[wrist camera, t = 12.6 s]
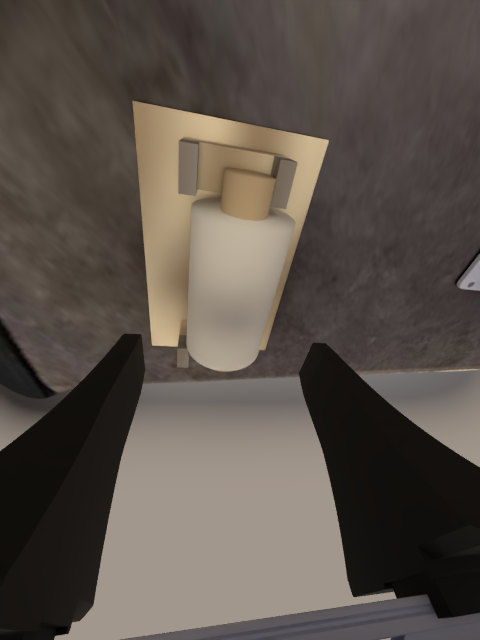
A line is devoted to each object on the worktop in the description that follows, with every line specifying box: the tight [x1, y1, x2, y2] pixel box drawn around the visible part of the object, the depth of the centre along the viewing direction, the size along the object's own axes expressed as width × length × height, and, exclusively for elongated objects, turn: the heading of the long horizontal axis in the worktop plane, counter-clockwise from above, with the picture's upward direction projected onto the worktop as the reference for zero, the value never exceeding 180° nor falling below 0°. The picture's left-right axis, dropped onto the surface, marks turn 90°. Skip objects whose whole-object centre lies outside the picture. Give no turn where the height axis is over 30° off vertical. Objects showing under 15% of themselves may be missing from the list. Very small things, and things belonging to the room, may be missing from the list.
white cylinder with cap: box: [186, 168, 295, 371], centre depth 15 cm, size 5×12×5 cm, turn 172°
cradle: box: [133, 101, 329, 369], centre depth 17 cm, size 10×16×4 cm, turn 171°
